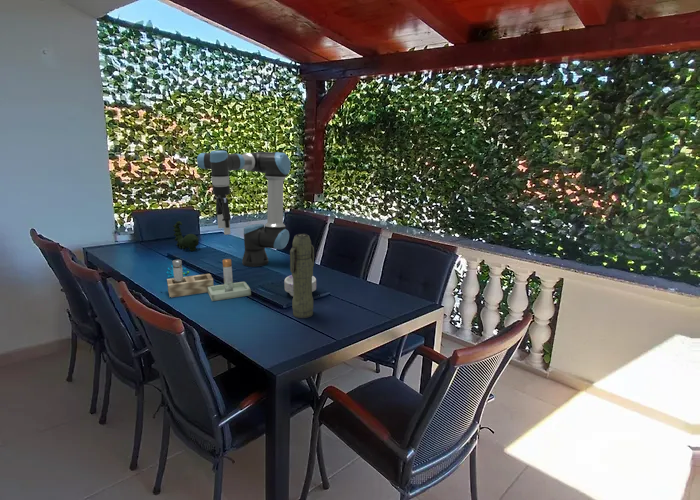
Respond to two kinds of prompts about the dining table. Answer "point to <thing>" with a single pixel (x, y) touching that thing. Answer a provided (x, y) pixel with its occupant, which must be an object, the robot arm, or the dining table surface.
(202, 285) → the block
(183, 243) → the toy figurine
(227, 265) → the hitch pin
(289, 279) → the paper bowls
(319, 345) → the dining table surface
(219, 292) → the tray
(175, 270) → the grey capped shaker
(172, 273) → the teal spiky toy
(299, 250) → the thermos
